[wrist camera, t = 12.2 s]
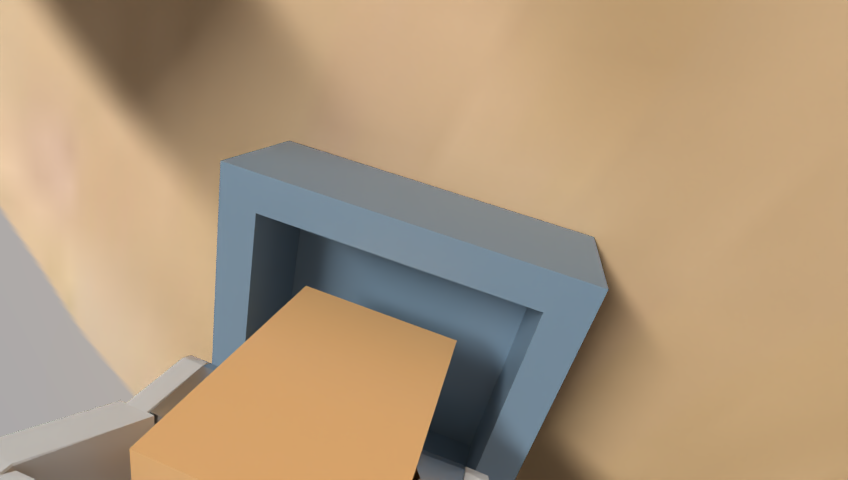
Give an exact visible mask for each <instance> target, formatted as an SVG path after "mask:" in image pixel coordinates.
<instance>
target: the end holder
mask: <svg viewBox="0 0 848 480" xmlns="http://www.w3.org/2000/svg"><path fill="white" fill-rule="evenodd" d="M305 286H308V287H311V288H314V289H316V290H319V291H322V292H325V293H327V294H330V295H333V296H336V297H338V298H341V299H344V300H347V301H349V302H352V303H355V304H358V305H360V306H363V307H366V308H369V309H371V310H374V311H377V312H380V313H382V314H385V315H388V316H391V317H393V318H396V319H399V320H402V321H404V322H407V323H410V324H413V325H415V326H418V327H421V328H424V329H426V330H429V331H432V332H435V333H437V334H440V335H443V336H446V337H448V338H451V339H454V340H457V342H456V345H455V348H454V351H453V354H452V357H451V360H450V364H449V367H448V370H447V373H446V376H445V379H444V382H443V385H442V389H441V392H440V395H439V398H438V401H437V404H436V407H435V411H434V414H433V417H432V420H431V423H430V426H429V429H428V432H427V436H426V439H425V442H424V445H423V448H422V449H423V450H425V451H428V452H431V453H433V454H436V455H438V456H441V457H443V458H446V459H449V460H451V461H454V462H456V463H459V464H461V465H464V467H468V468H470V469H473V470H475V471H478V472H480V473H483V474H485V475H488V478H489V480H515V478H516V476H517V474H518V472H519V470H520V468H521V466H522V464H523V462H524V460H525V458H526V456H527V454H528V452H529V450H530V448H531V446H532V444H533V442H534V440H535V438H536V436H537V434H538V432H539V430H540V428H541V426H542V423H543V421H544V419H545V417H546V415H547V413H548V411H549V409H550V407H551V405H552V403H553V401H554V399H555V397H556V395H557V393H558V391H559V389H560V387H561V385H562V383H563V381H564V379H565V377H566V375H567V373H568V371H569V369H570V367H571V365H572V363H573V361H574V359H575V357H576V354H577V352H578V350H579V348H580V346H581V344H582V342H583V340H584V338H585V336H586V334H587V332H588V330H589V328H590V326H591V324H592V322H593V320H594V318H595V316H596V314H597V312H598V310H599V308H600V306H601V304H602V302H603V300H604V298H605V296H606V294H607V292H608V290H609V289H608V286H607V282H606V278H605V275H604V271H603V268H602V264H601V260H600V257H599V253H598V250H597V246H596V242H595V239H594V237H592V236H589V235H585V234H582V233H579V232H576V231H573V230H570V229H566V228H563V227H560V226H557V225H554V224H551V223H547V222H544V221H541V220H538V219H535V218H532V217H528V216H525V215H522V214H519V213H516V212H513V211H510V210H506V209H503V208H500V207H497V206H494V205H491V204H487V203H484V202H481V201H478V200H475V199H472V198H468V197H465V196H462V195H459V194H456V193H453V192H449V191H446V190H443V189H440V188H437V187H434V186H431V185H427V184H424V183H421V182H418V181H415V180H412V179H408V178H405V177H402V176H399V175H396V174H393V173H389V172H386V171H383V170H380V169H377V168H374V167H370V166H367V165H364V164H361V163H358V162H355V161H352V160H348V159H345V158H342V157H339V156H336V155H333V154H329V153H326V152H323V151H320V150H317V149H314V148H310V147H307V146H304V145H301V144H298V143H295V142H291V141H287V142H283V143H280V144H277V145H273V146H270V147H266V148H263V149H259V150H256V151H253V152H249V153H246V154H242V155H239V156H235V157H232V158H229V159H225V160H222V161H221V164H220V188H219V212H218V236H217V259H216V283H215V307H214V331H213V355H212V364H214V365H216V366H219V365H221V364H222V363H223V362H224V361H225V360H226V359H227V358H228V357H229V356H230V355H231V354H232V353H234V352H235V351H236V350H237V349H238V348H239V347H240V346H241V345H242V344H243V343H244V342H245V341H247V340H248V339H249V338H250V337H251V336H252V335H253V334H254V333H255V332H256V331H257V330H258V329H260V328H261V327H262V326H263V325H264V324H265V323H266V322H267V321H268V320H269V319H270V318H271V317H273V316H274V315H275V314H276V313H277V312H278V311H279V310H280V309H281V308H282V307H283V306H285V305H286V304H287V303H288V302H289V301H290V300H291V299H292V298H293V297H294V296H295V295H296V294H298V293H299V292H300V291H301V290H302V289H303V288H304V287H305Z"/></svg>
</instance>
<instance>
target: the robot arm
mask: <svg viewBox="0 0 848 480" xmlns="http://www.w3.org/2000/svg"><path fill="white" fill-rule="evenodd" d="M217 367H218V366H216V365H214V364H211V363H209V362H206V361H204V360H201V359H199V358H197V357H194V356H192V355H189V356H187V357H184V358H182V359H181V360H179V361H178V362H177V363H175V364H174V365H173V366H172V367H170V368H169V369H168V370H167V371H165V372H164V373H163V374H162V375H160V376H159V377H158V378H157V379H155V380H154V381H153V382H152V383H150V384H149V385H148V386H147V387H145V388H144V389H143V390H142V391H140V392H139V393H138V394H137V395H135V396H134V397H133V398H132V399H130V400H129V401H128V402H127V403H125V402H122V401H117V402H114V403H110V404H107V405H104V406H100V407H97V408H94V409H91V410H87V411H84V412H81V413H78V414H74V415H71V416H67V417H64V418H61V419H58V420H54V421H51V422H48V423H44V424H41V425H38V426H34V427H31V428H28V429H24V430H21V431H18V432H15V433H11V434H8V435H5V436H1V437H0V480H131V466H130V451H129V448H130V447H132V446H133V445H134V444H135V443H136V442H137V441H138V440H139V439H140V438H141V437H142V436H143V435H145V434H146V433H147V432H148V431H149V430H150V429H151V428H152V427H153V426H154V425H155V424H156V423H158V422H159V421H160V420H161V419H162V418H163V417H164V416H165V415H166V414H167V413H168V412H170V411H171V410H172V409H173V408H174V407H175V406H176V405H177V404H178V403H179V402H180V401H181V400H183V399H184V398H185V397H186V396H187V395H188V394H189V393H190V392H191V391H192V390H193V389H194V388H196V387H197V386H198V385H199V384H200V383H201V382H202V381H203V380H204V379H205V378H206V377H207V376H209V375H210V374H211V373H212V372H213V371H214V370H215V369H216V368H217ZM412 480H489V478H488V475H485V474H483V473H480V472H478V471H475V470H473V469H470V468H468V467H464V465H461V464H459V463H456V462H454V461H451V460H449V459H446V458H443V457H441V456H438V455H436V454H433V453H431V452H428V451H425V450H423V449H422V451H421V454H420V457H419V461H418V464H417V467H416V470H415V473H414V476H413V479H412Z"/></svg>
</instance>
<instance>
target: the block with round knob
mask: <svg viewBox="0 0 848 480" xmlns="http://www.w3.org/2000/svg"><path fill="white" fill-rule="evenodd" d="M456 342H457V340H454V339H451V338H448V337H446V336H443V335H440V334H437V333H435V332H432V331H429V330H426V329H424V328H421V327H418V326H415V325H413V324H410V323H407V322H404V321H402V320H399V319H396V318H393V317H391V316H388V315H385V314H382V313H380V312H377V311H374V310H371V309H369V308H366V307H363V306H360V305H358V304H355V303H352V302H349V301H347V300H344V299H341V298H338V297H336V296H333V295H330V294H327V293H325V292H322V291H319V290H316V289H314V288H311V287H308V286H305V287H304V288H303V289H302V290H301V291H300V292H299V293H298V294H296V295H295V296H294V297H293V298H292V299H291V300H290V301H289V302H288V303H287V304H286V305H285V306H283V307H282V308H281V309H280V310H279V311H278V312H277V313H276V314H275V315H274V316H273V317H271V318H270V319H269V320H268V321H267V322H266V323H265V324H264V325H263V326H262V327H261V328H260V329H258V330H257V331H256V332H255V333H254V334H253V335H252V336H251V337H250V338H249V339H248V340H247V341H245V342H244V343H243V344H242V345H241V346H240V347H239V348H238V349H237V350H236V351H235V352H234V353H232V354H231V355H230V356H229V357H228V358H227V359H226V360H225V361H224V362H223V363H222V364H221V365H219V366H218V367H217V368H216V369H215V370H214V371H213V372H212V373H211V374H210V375H209V376H207V377H206V378H205V379H204V380H203V381H202V382H201V383H200V384H199V385H198V386H197V387H196V388H194V389H193V390H192V391H191V392H190V393H189V394H188V395H187V396H186V397H185V398H184V399H183V400H181V401H180V402H179V403H178V404H177V405H176V406H175V407H174V408H173V409H172V410H171V411H170V412H168V413H167V414H166V415H165V416H164V417H163V418H162V419H161V420H160V421H159V422H158V423H156V424H155V425H154V426H153V427H152V428H151V429H150V430H149V431H148V432H147V433H146V434H145V435H143V436H142V437H141V438H140V439H139V440H138V441H137V442H136V443H135V444H134V445H133V446H132V447H130V448H129V451H130V466H131V480H412V479H413V476H414V473H415V470H416V467H417V464H418V461H419V457H420V454H421V451H422V448H423V445H424V442H425V439H426V436H427V432H428V429H429V426H430V423H431V420H432V417H433V414H434V411H435V407H436V404H437V401H438V398H439V395H440V392H441V389H442V385H443V382H444V379H445V376H446V373H447V370H448V367H449V364H450V360H451V357H452V354H453V351H454V348H455V345H456Z"/></svg>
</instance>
